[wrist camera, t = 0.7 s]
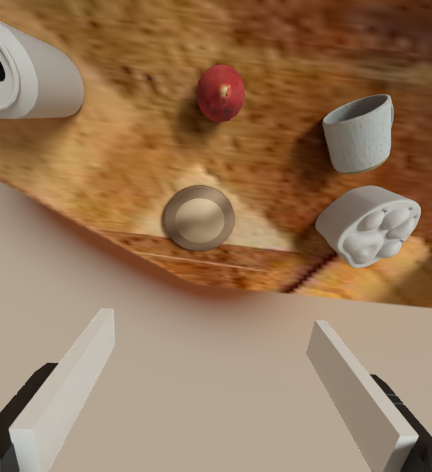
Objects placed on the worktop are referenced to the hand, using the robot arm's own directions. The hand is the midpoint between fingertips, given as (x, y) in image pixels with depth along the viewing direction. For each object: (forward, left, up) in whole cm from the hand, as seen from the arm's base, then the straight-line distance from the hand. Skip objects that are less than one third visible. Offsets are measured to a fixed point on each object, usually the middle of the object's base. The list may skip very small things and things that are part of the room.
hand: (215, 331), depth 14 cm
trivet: (+3, -3, -26) cm, 26 cm away
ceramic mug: (+5, +25, -26) cm, 36 cm away
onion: (-10, +10, -26) cm, 30 cm away
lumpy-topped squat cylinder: (+20, +20, -26) cm, 39 cm away
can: (-23, -6, -26) cm, 35 cm away
